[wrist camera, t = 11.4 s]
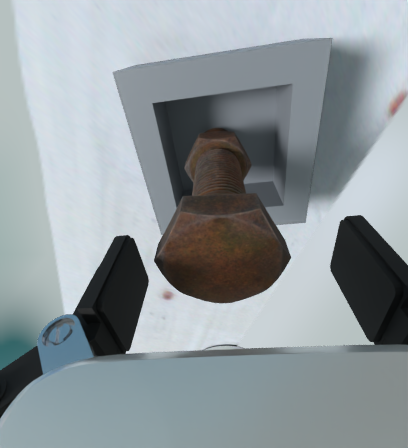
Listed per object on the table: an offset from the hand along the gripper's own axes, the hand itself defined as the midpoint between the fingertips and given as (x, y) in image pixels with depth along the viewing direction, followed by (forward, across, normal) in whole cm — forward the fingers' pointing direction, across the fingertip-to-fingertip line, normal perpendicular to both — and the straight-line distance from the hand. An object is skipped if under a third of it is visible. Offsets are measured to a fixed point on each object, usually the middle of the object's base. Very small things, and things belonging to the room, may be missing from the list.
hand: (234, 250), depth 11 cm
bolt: (+14, +1, -1) cm, 14 cm away
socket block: (+15, 0, -1) cm, 15 cm away
